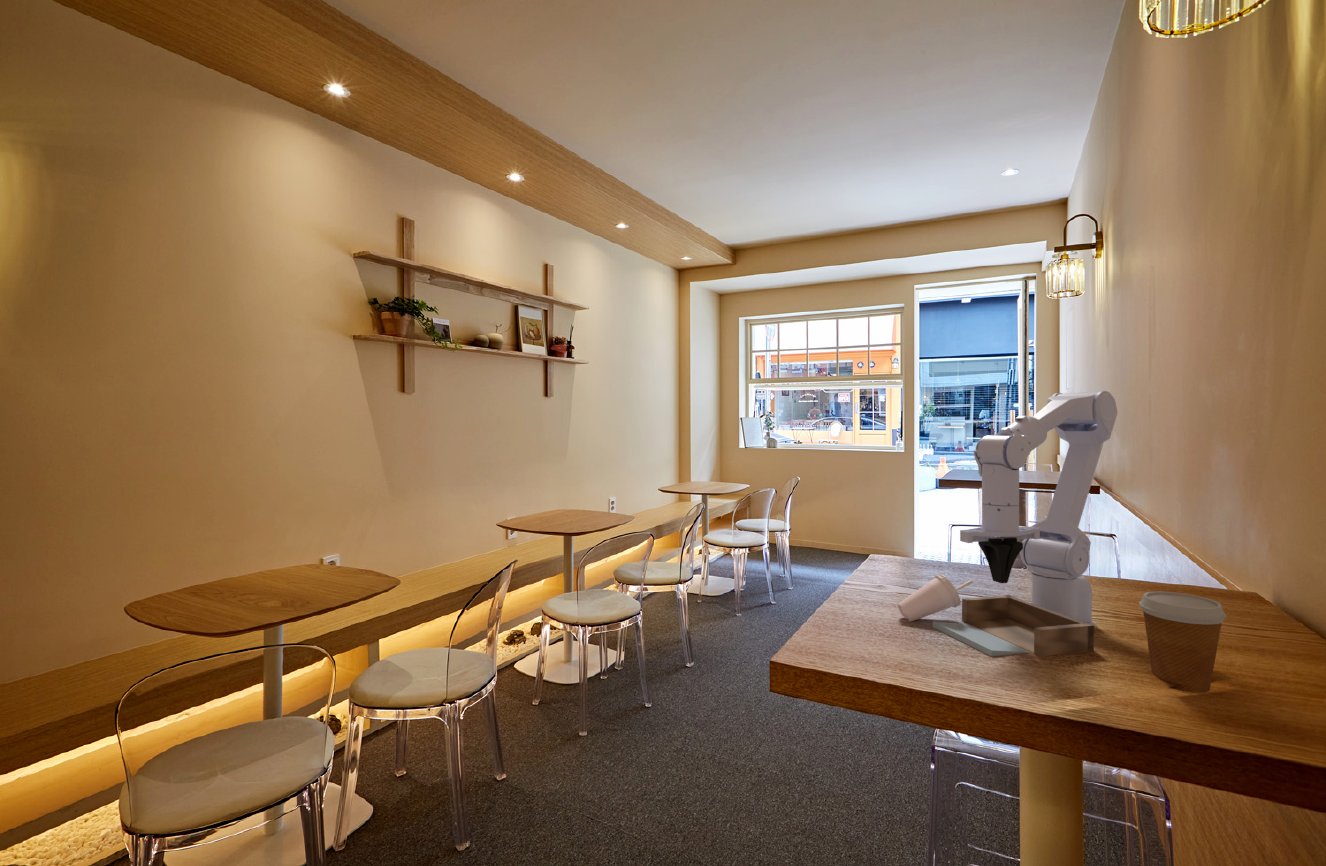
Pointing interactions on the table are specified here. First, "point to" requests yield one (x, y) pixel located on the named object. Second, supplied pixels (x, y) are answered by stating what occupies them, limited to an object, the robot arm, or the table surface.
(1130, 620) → the table surface
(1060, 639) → the box
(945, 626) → the panel
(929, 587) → the smoothie
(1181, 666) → the disposable coffee cup
